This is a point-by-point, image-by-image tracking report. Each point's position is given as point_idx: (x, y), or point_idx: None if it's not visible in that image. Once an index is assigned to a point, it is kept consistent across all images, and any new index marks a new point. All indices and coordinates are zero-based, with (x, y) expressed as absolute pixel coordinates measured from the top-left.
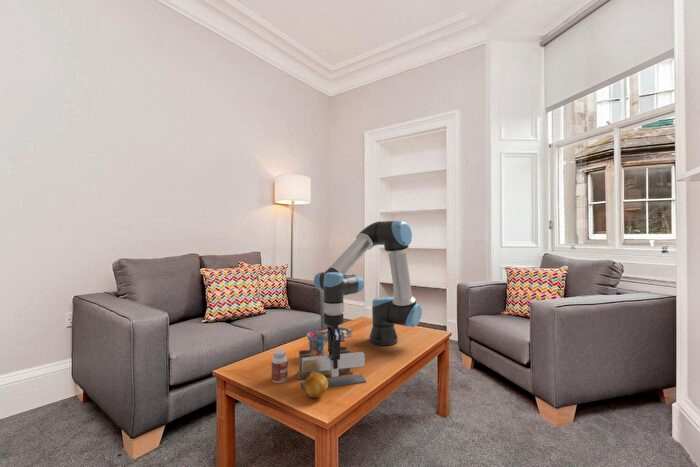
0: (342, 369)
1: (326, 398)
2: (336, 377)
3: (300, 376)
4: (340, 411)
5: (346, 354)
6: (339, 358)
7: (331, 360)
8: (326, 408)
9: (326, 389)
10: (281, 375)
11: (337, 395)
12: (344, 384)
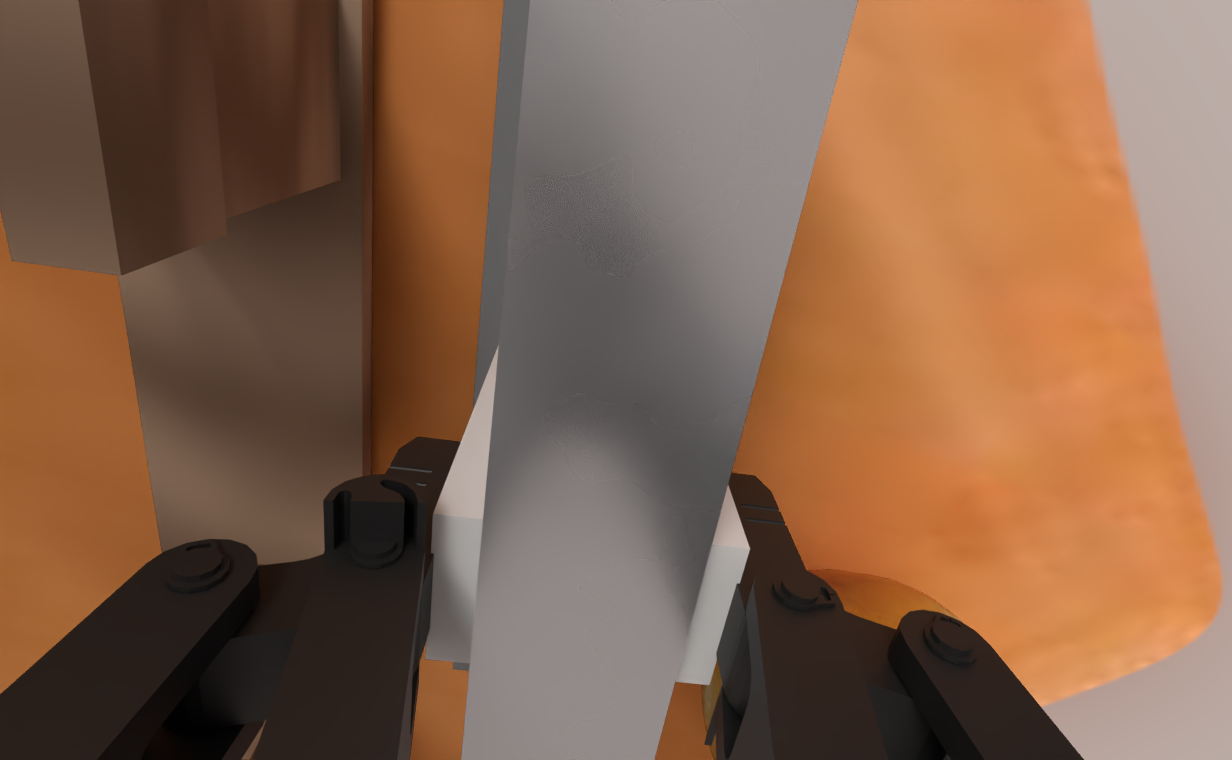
0: (322, 143)
1: (896, 540)
2: (489, 295)
3: None
4: (1195, 503)
5: (611, 273)
6: (988, 659)
7: (702, 671)
8: (1058, 588)
9: (951, 613)
10: None
11: (908, 427)
12: None
